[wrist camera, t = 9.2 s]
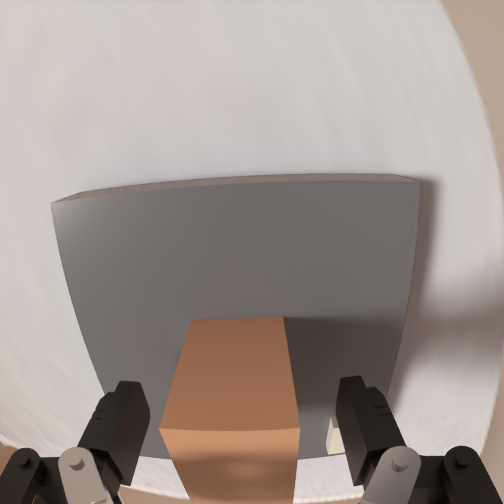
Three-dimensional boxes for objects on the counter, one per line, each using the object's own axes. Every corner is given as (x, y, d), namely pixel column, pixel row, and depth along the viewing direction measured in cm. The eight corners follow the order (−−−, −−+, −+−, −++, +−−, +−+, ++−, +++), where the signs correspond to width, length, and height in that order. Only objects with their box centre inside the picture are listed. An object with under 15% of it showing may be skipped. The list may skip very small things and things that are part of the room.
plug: (200, 291, 14) (158, 427, 7) (278, 288, 14) (300, 427, 7) (212, 375, 16) (193, 506, 8) (279, 373, 16) (292, 506, 8)
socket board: (79, 192, 13) (39, 207, 10) (393, 174, 13) (431, 185, 10) (143, 426, 18) (131, 464, 15) (359, 421, 18) (372, 459, 14)
